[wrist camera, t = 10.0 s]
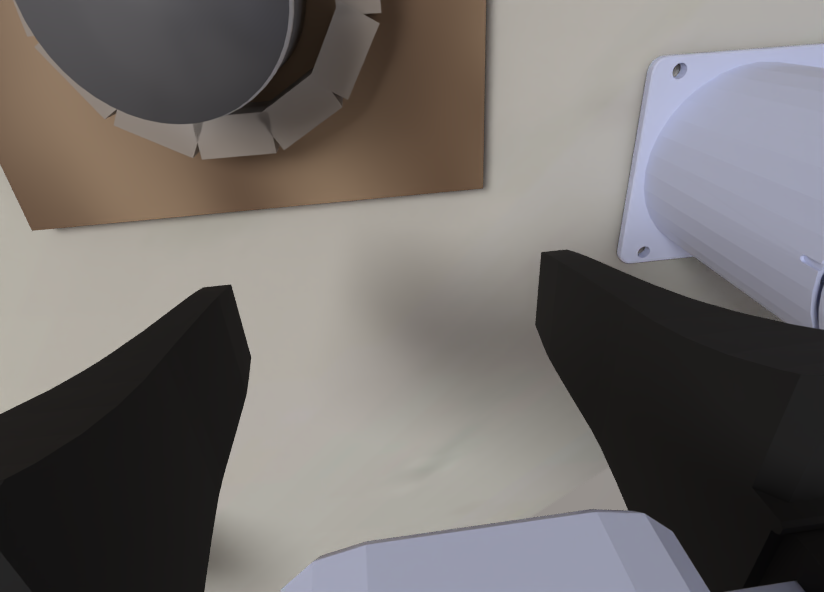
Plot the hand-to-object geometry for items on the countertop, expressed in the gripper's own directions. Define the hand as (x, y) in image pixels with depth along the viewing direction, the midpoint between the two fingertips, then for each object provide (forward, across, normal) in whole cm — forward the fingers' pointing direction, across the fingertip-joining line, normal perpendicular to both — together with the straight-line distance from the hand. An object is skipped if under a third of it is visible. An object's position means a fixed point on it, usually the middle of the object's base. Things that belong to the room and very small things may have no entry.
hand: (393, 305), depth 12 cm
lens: (+8, +4, -7) cm, 11 cm away
